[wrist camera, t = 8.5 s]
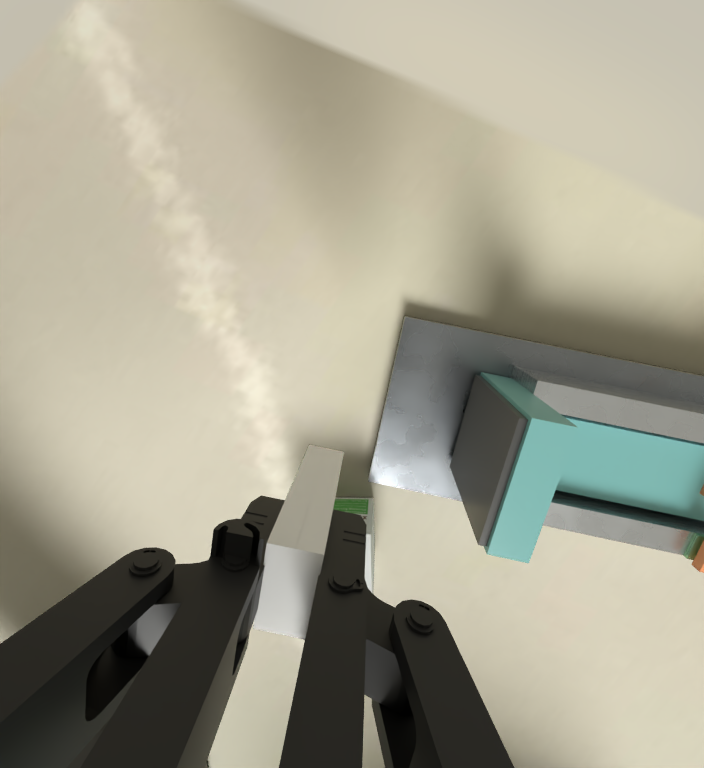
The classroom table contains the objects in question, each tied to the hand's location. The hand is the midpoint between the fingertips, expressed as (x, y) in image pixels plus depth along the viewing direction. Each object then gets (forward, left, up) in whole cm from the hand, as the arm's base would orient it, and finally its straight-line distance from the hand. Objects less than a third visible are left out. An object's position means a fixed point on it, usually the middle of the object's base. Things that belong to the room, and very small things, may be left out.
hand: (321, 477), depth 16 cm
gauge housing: (+16, +1, -12) cm, 20 cm away
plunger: (+16, +1, -11) cm, 19 cm away
